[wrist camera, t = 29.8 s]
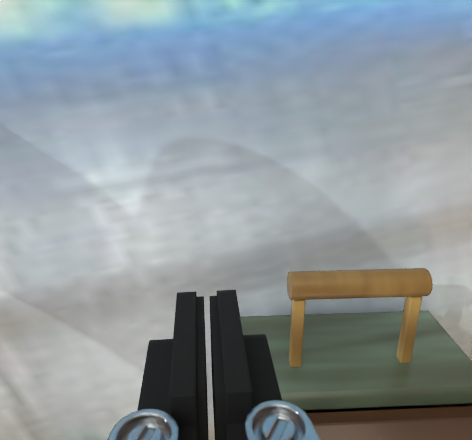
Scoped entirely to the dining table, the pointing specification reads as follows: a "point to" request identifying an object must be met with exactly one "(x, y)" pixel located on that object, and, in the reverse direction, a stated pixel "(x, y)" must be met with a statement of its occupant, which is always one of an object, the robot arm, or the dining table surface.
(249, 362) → the robot arm
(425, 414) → the cabinet
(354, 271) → the drawer
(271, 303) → the dining table surface
